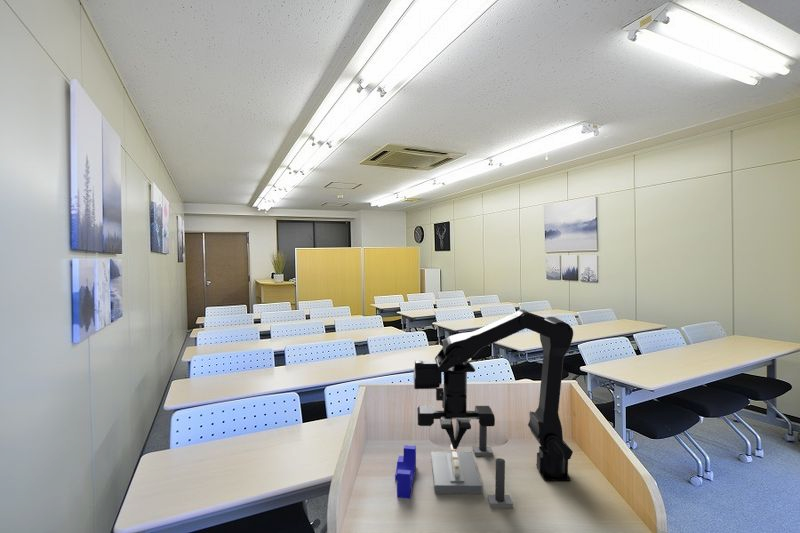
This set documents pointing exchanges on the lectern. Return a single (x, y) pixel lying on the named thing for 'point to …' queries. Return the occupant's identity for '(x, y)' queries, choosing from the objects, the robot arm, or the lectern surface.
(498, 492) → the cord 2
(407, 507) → the lectern surface
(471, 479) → the breaker panel
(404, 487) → the cable clip
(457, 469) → the breaker paddles
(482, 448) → the grey post on base
